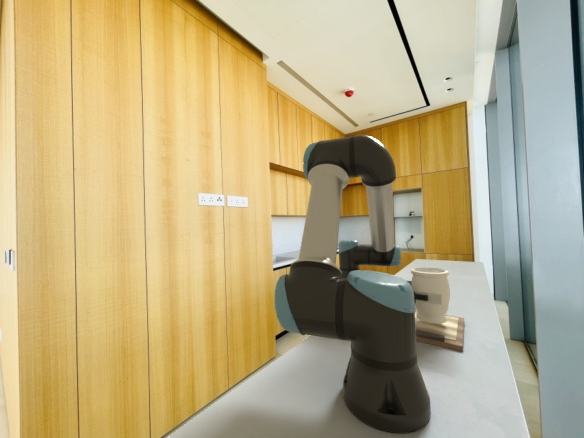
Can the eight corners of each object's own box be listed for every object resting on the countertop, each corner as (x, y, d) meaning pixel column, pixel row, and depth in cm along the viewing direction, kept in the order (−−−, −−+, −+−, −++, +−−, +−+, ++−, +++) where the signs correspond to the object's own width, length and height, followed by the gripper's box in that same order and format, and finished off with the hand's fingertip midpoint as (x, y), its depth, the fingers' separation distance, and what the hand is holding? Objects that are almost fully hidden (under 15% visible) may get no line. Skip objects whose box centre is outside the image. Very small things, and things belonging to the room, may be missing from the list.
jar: (449, 328, 68) (447, 274, 69) (409, 320, 75) (407, 271, 75) (452, 316, 77) (450, 268, 77) (416, 310, 83) (414, 266, 84)
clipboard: (462, 351, 62) (462, 342, 62) (395, 336, 71) (395, 328, 72) (464, 321, 80) (463, 314, 80) (410, 312, 89) (410, 306, 89)
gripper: (386, 288, 96) (453, 298, 82) (359, 303, 79) (437, 319, 65) (385, 269, 97) (452, 275, 82) (358, 280, 79) (436, 290, 65)
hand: (445, 294), depth 73 cm, fingers closed on jar, 11 cm apart
